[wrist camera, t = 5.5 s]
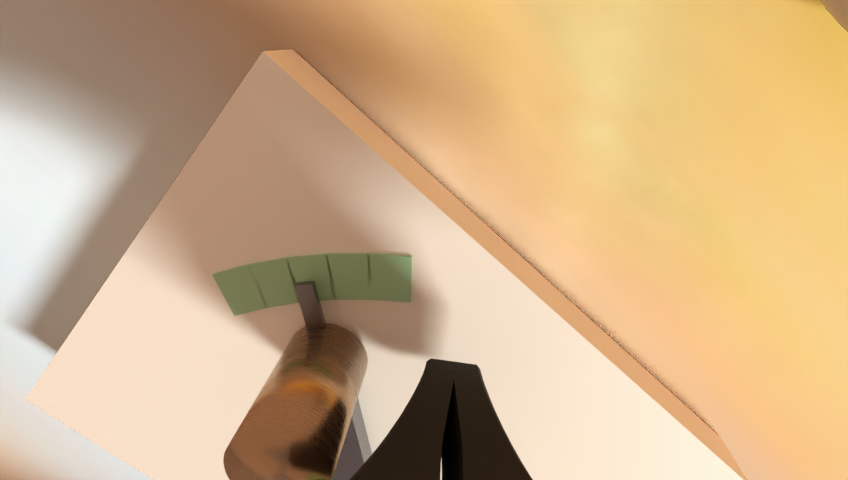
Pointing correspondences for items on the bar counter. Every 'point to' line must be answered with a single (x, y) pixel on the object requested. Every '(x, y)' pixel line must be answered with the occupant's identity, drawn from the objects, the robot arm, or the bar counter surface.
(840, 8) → the teacup
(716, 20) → the bar counter surface
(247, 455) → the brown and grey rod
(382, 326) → the board
